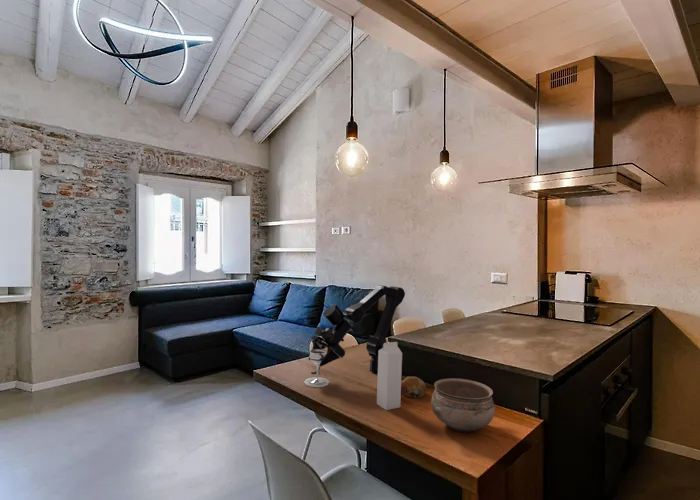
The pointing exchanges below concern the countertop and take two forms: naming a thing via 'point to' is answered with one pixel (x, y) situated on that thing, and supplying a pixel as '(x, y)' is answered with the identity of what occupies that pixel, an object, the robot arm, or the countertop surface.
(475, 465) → the countertop surface
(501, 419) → the countertop surface
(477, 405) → the cooking pot
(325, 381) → the plate
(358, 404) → the countertop surface
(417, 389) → the bread roll
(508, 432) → the countertop surface
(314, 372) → the tactical tomahawk
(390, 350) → the milk
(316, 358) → the wineglass
